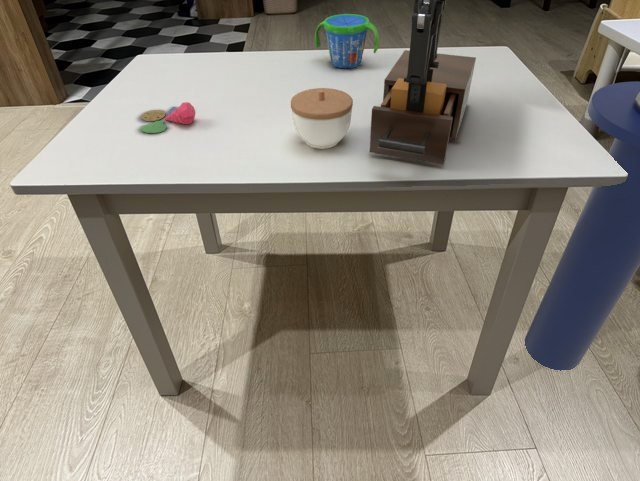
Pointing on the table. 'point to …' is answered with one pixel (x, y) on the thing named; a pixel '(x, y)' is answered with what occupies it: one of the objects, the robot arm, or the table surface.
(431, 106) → the tan wooden block
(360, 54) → the snack cup
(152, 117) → the toy pieces
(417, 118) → the drawer
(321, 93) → the trinket box
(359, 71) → the table surface
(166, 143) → the table surface
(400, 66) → the cabinet
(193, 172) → the table surface
